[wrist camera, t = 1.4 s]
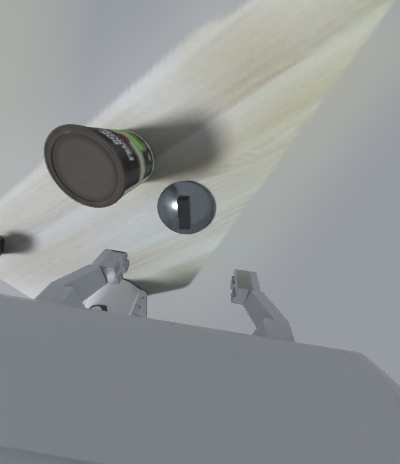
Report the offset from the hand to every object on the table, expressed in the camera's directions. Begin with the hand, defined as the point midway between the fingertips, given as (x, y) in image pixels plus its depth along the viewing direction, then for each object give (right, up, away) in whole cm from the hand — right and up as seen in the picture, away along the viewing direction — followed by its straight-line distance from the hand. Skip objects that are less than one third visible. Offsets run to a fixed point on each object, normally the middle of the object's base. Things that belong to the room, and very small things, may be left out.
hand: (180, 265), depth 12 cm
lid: (-2, +8, +27) cm, 28 cm away
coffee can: (-13, +18, +21) cm, 31 cm away
